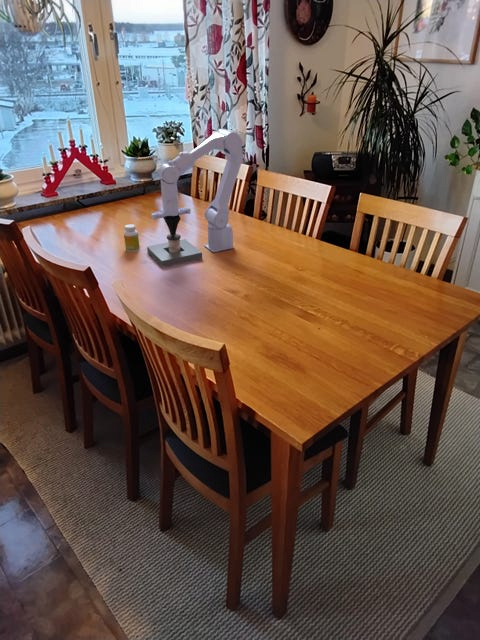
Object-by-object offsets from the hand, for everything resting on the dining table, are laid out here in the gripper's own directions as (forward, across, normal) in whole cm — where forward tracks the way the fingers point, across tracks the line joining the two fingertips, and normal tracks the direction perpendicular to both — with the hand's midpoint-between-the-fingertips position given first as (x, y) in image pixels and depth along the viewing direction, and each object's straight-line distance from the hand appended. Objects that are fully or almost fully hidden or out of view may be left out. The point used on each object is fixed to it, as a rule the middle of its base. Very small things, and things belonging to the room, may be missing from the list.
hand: (173, 234), depth 180 cm
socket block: (+8, 0, 0) cm, 8 cm away
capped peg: (+8, 0, 0) cm, 8 cm away
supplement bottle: (+9, -12, +14) cm, 20 cm away
